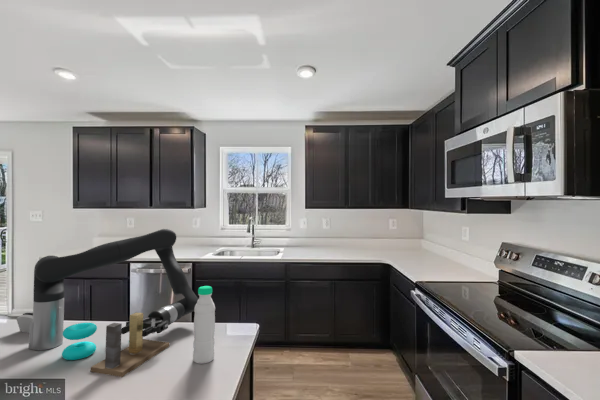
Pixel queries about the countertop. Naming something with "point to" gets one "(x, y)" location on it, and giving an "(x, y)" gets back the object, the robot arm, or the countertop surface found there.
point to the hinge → (25, 321)
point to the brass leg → (136, 333)
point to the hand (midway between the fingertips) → (132, 332)
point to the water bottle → (204, 326)
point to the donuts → (79, 348)
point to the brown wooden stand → (125, 353)
